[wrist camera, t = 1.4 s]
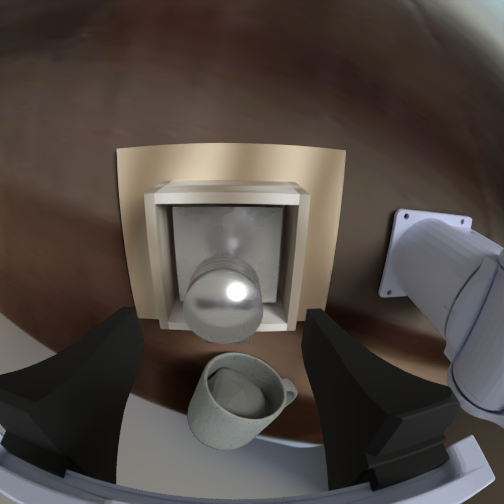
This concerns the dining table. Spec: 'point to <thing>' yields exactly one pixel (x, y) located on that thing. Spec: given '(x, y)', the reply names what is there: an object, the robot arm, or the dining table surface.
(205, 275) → the plunger
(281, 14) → the dining table surface
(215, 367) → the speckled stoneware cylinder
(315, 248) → the base
